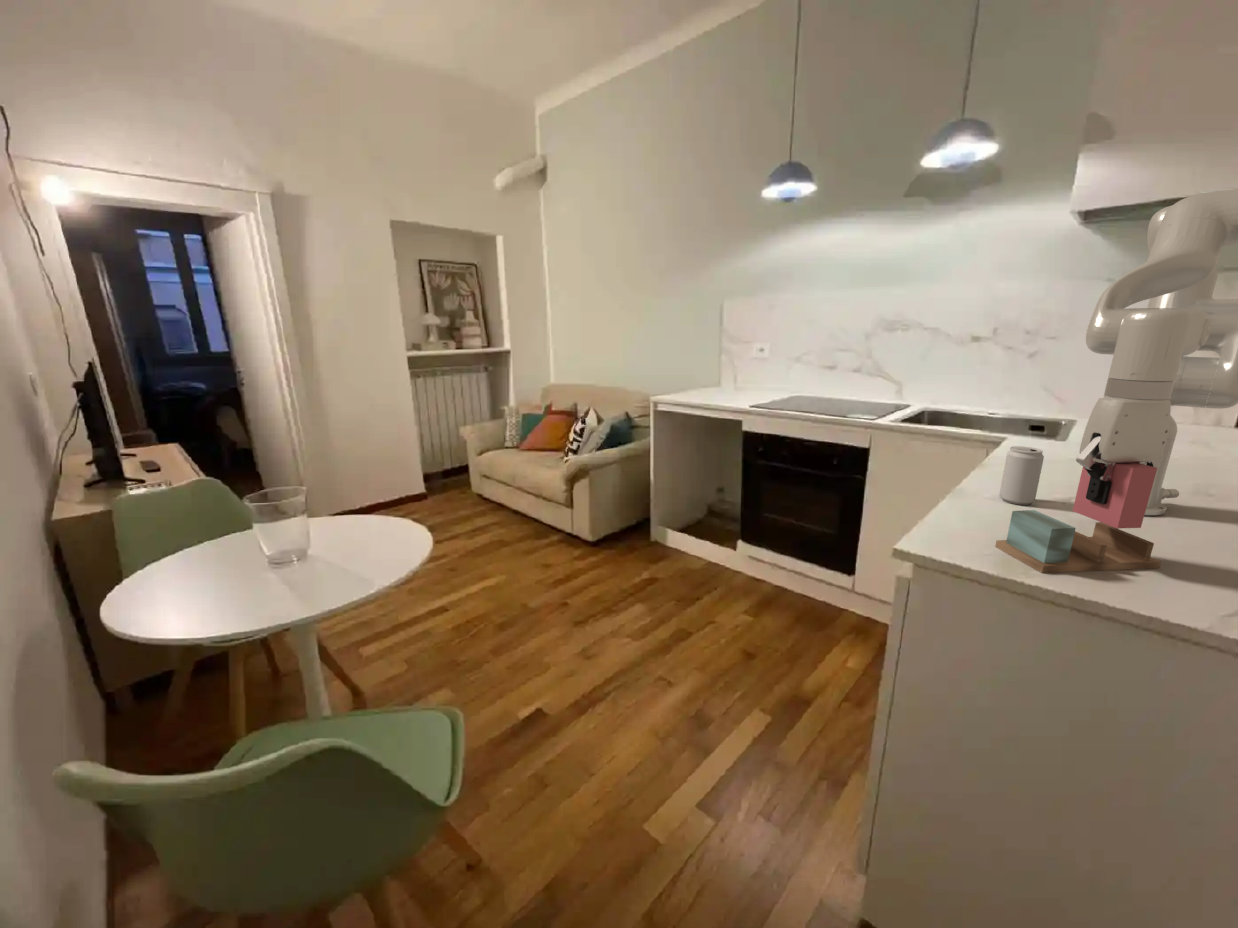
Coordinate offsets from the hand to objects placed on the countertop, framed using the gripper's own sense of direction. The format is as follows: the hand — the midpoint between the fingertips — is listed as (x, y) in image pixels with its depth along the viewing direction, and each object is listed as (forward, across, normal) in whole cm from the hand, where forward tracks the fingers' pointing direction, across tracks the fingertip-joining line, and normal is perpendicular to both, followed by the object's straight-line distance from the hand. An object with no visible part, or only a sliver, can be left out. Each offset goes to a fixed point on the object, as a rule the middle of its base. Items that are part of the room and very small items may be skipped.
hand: (1109, 500), depth 86 cm
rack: (+10, +4, 0) cm, 11 cm away
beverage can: (+10, -8, -27) cm, 30 cm away
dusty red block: (+3, 0, 0) cm, 3 cm away
